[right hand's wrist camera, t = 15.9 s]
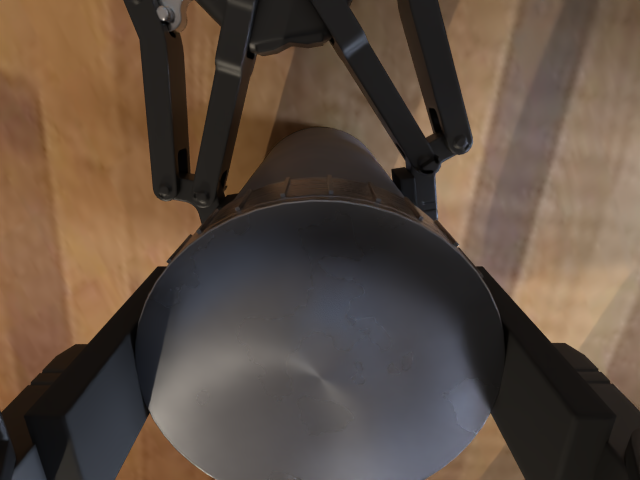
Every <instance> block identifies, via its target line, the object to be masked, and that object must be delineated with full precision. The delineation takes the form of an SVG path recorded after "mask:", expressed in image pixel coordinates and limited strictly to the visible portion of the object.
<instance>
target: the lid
mask: <svg viewBox="0 0 640 480" xmlns="http://www.w3.org/2000/svg"><path fill="white" fill-rule="evenodd" d="M458 245H459V244H458V243H457V242H456V241H455V239H454V238H453V237H452V236H451V235H450V234H449V233H448V231H447V230H446V229H445V228H444V227H443V226H442V225H441V223H440V222H439V221H438V220H437V219H436V220H435V221H433V220H432V219H431V218H430V217H429V216H428V215H426V214H425V213H424V212H423V211H422V210H420V209H419V208H418V207H416V206H415V205H414V204H413V203H412V202H411V201H410V199H409V198H407V197H405V198H402V197H400V196H398V195H396V194H394V193H391V192H389V191H387V190H385V189H383V188H380V187H377V186H374V185H373V183H372V182H370V181H368V184H367V183H363V182H360V181H355V180H348V179H342V178H332V175H327V177H309V178H298V179H290V177H287V178H286V180H285V181H282V182H277V183H273V184H269V185H266V186H264V187H261V188H258V189H256V190H253V191H252V190H251V189H248V190H247V191H246V193H245V194H244V195H243V196H241V197H239V198H237V199H235V200H233V201H232V202H230V203H228V204H227V205H226V206H224V207H223V208H222V209H220V210H218V209H217V208H216V209H215V210H214V211H213V212H212V213H211V215H210V216H209V217H208V218H207V219H206V220H205V222H204V223H203V224H202V225H201V226H200V227H199V229H198V230H197V231H196V232H195V234H194V235H191V234H190V235H189V236H188V237H187V239H186V240H185V241H184V242H183V243H182V244H181V245H180V246H179V248H178V249H177V250H176V251H175V252H174V253H173V254H172V256H171V257H170V258H169V259H168V260H167V263H169V264H168V266H167V267H166V268H165V270H164V271H163V272H162V274H161V275H160V276H159V278H158V279H157V280H156V282H155V284H154V286H153V288H152V290H151V291H150V292H149V294H148V297H147V299H146V301H145V304H144V307H143V310H142V313H141V316H140V319H139V322H138V328H137V334H136V340H135V364H136V369H137V375H138V380H139V385H140V390H141V393H142V396H143V399H144V402H145V404H146V406H147V408H148V410H149V412H150V414H151V416H152V418H153V420H154V421H155V423H156V424H157V426H158V427H159V429H160V430H161V432H162V433H163V435H164V436H165V437H166V438H167V439H168V441H169V442H170V443H171V444H172V445H173V446H174V447H175V449H176V450H177V451H178V452H179V453H181V454H182V455H183V456H184V457H185V458H186V459H187V460H188V461H190V462H191V463H192V464H193V465H195V466H196V467H198V468H199V469H200V470H202V471H203V472H205V473H206V474H207V475H209V476H211V477H213V478H214V479H216V480H424V479H426V478H428V477H429V476H431V475H432V474H434V473H436V472H437V471H439V470H440V469H442V468H443V467H444V466H445V465H447V464H448V463H449V462H450V461H452V460H453V459H454V458H455V457H457V456H458V455H459V454H460V453H461V452H462V451H463V450H464V449H465V448H466V447H467V446H468V445H469V444H470V442H471V441H472V440H473V439H474V437H475V436H476V435H477V433H478V432H479V431H480V429H481V428H482V427H483V425H484V423H485V422H486V420H487V418H488V416H489V415H490V413H491V411H492V409H493V407H494V404H495V402H496V399H497V397H498V394H499V391H500V386H501V381H502V376H503V371H504V365H505V341H504V330H503V326H502V323H501V319H500V315H499V311H498V308H497V306H496V304H495V301H494V299H493V297H492V295H491V292H490V290H489V289H488V287H487V285H486V284H485V282H484V281H483V279H482V278H483V275H482V274H481V272H480V271H479V270H478V269H477V268H476V267H475V265H474V264H473V263H472V262H471V261H470V260H469V258H468V257H467V256H466V255H465V254H464V253H463V251H462V250H461V249H460V248H459V247H458V248H457V246H458Z"/></svg>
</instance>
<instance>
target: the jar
mask: <svg viewBox="0 0 640 480" xmlns="http://www.w3.org/2000/svg"><path fill="white" fill-rule="evenodd" d="M327 175H332V178H342V179H348V180H355V181H360V182H363V183H367V184H368V181H370V182H372V183H373V185H374V186H377V187H380V188H383V189H385V190H387V191H389V192H391V193H394V194H396V195H398V196H400V197H402V198H405V197H404V196H403V194H402V193H401V192H400V190H399V189H398V188H397V187H396V185H395V184H394V183H393V181H392V180H391V179H390V177H389V176H388V175H387V173H386V172H385V171H384V169H383V168H382V167H381V166H380V164H379V163H378V162H377V160H376V159H375V158H374V156H373V155H372V154H371V152H370V151H369V150H368V149H367V148H366V147H365V145H363V144H362V143H361V142H360V141H359V140H358V139H356V138H355V137H353V136H352V135H350V134H348V133H345V132H343V131H340V130H337V129H333V128H327V127H314V128H307V129H303V130H300V131H297V132H295V133H292V134H291V135H289V136H287V137H285V138H284V139H283V140H281V141H280V142H279V143H278V144H277V145H276V146H275V147H274V148H273V149H272V150H271V152H270V153H269V154H268V155H267V157H266V158H265V159H264V161H263V162H262V163H261V165H260V166H259V167H258V169H257V170H256V171H255V173H254V174H253V175H252V177H251V178H250V179H249V180H248V182H247V183H246V184H245V186H244V187H243V188H242V190H241V191H240V192H239V194H238V195H237V196H236V198H235V199H237V198H239V197H241V196H243V195H244V194H245V193H246V191H247V190H248V189H251V190H252V191H253V190H256V189H258V188H261V187H264V186H266V185H269V184H273V183H277V182H282V181H285V180H286V178H287V177H290V179H298V178H309V177H327ZM235 199H234V200H235Z"/></svg>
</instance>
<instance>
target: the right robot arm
mask: <svg viewBox="0 0 640 480" xmlns="http://www.w3.org/2000/svg"><path fill="white" fill-rule="evenodd" d="M165 268H166V267H157V268H156V269H155V270H154V271H153V272H152V273H151V275H150V276H149V277H148V278H147V279H146V280H145V281H144V282H143V283H142V285H141V286H140V287H139V288H138V289H137V290H136V291H135V292H134V293H133V295H132V296H131V297H130V298H129V299H128V300H127V301H126V302H125V303H124V305H123V306H122V307H121V308H120V309H119V310H118V311H117V312H116V313H115V315H114V316H113V317H112V318H111V319H110V320H109V321H108V322H107V323H106V325H105V326H104V327H103V328H102V329H101V330H100V331H99V332H98V333H97V335H96V336H95V337H94V338H93V339H92V340H91V341H90V342H89V343H88V344H75V345H74V346H72V347H71V348H69V349H67V350H66V351H64V352H62V353H61V354H59V355H58V356H56V357H55V358H54V359H53V360H52V361H51V362H50V363H49V364H48V365H47V366H46V367H45V368H44V369H43V370H42V371H43V372H42V373H39V374H38V376H37V377H36V378H35V379H34V380H33V381H32V382H31V385H28V386H27V387H26V388H25V389H24V390H23V391H22V392H21V393H20V394H19V395H18V396H17V397H16V398H15V399H14V400H13V401H12V402H11V403H10V404H9V405H8V406H7V407H6V408H5V409H4V410H3V411H2V412H1V411H0V480H115V478H116V476H117V474H118V473H119V471H120V469H121V467H122V465H123V463H124V461H125V459H126V457H127V455H128V453H129V451H130V450H131V448H132V446H133V444H134V442H135V440H136V438H137V436H138V434H139V432H140V430H141V428H142V427H143V425H144V423H145V421H146V419H147V417H148V415H149V413H150V412H149V410H148V408H147V406H146V404H145V402H144V399H143V396H142V393H141V390H140V385H139V380H138V375H137V369H136V364H135V340H136V334H137V328H138V322H139V319H140V316H141V313H142V310H143V307H144V304H145V301H146V299H147V297H148V294H149V292H150V291H151V290H152V288H153V286H154V284H155V282H156V280H157V279H158V278H159V276H160V275H161V274H162V272H163V271H164V270H165ZM476 268H477V269H478V270H479V271H480V272H481V274H482V275H483V278H482V279H483V281H484V282H485V284H486V285H487V287H488V289H489V290H490V292H491V295H492V297H493V299H494V301H495V304H496V306H497V308H498V311H499V315H500V319H501V323H502V326H503V330H504V341H505V365H504V371H503V376H502V381H501V386H500V391H499V394H498V397H497V399H496V402H495V404H494V407H493V409H492V411H491V414H492V416H493V418H494V420H495V422H496V424H497V426H498V428H499V430H500V432H501V434H502V436H503V438H504V439H505V441H506V443H507V445H508V447H509V449H510V451H511V453H512V455H513V457H514V459H515V461H516V462H517V464H518V466H519V468H520V470H521V472H522V474H523V476H524V478H525V480H640V411H639V410H638V409H637V408H636V407H635V406H634V405H633V404H632V403H631V402H630V401H629V400H628V399H627V398H626V397H625V396H624V395H623V394H622V393H621V392H620V391H619V390H618V389H617V388H616V387H615V386H614V385H613V384H610V381H609V379H608V378H607V377H606V376H605V375H604V374H603V373H602V372H599V371H598V368H597V367H596V366H595V365H594V364H593V363H592V362H591V361H590V360H589V359H588V358H587V357H586V356H585V355H584V354H582V353H580V352H579V351H577V350H575V349H574V348H572V347H571V346H569V345H567V344H566V343H551V342H550V341H549V340H548V339H547V338H546V336H545V335H544V334H543V333H542V332H541V331H540V330H539V329H538V328H537V326H536V325H535V324H534V323H533V322H532V321H531V320H530V319H529V318H528V316H527V315H526V314H525V313H524V312H523V311H522V310H521V309H520V308H519V306H518V305H517V304H516V303H515V302H514V301H513V300H512V299H511V298H510V296H509V295H508V294H507V293H506V292H505V291H504V290H503V289H502V288H501V286H500V285H499V284H498V283H497V282H496V281H495V280H494V279H493V278H492V276H491V275H490V274H489V273H488V272H487V271H486V270H485V269H484V268H483V267H476Z"/></svg>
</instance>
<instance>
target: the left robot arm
mask: <svg viewBox="0 0 640 480" xmlns="http://www.w3.org/2000/svg"><path fill="white" fill-rule="evenodd" d="M191 1H193V0H124V3H125V5H126V8H127V10H128V13H129V15H130V17H131V20H132V22H133V25H134V27H135V30H136V32H137V34H138V37H139V39H140V50H141V61H142V72H143V83H144V94H145V105H146V116H147V127H148V138H149V149H150V160H151V171H152V182H153V190H154V194H155V195H156V196H157V198H159V199H160V200H163V201H171V200H172V199H173V200H178V201H184V202H188V203H190V204H192V205H193V206H194V207H195V208H196V209H197V210H198V213H199V216H200V219H201V223H202V224H203V223H204V222H205V220H206V219H207V218H208V217H209V216H210V215H211V213H212V212H213V211H214V210H215V209H216V208H217V209H218V210H220V209H222V208H223V207H224V206H226V205H227V204H228V203H230V202H232V201H233V200H234V199H235V198H236V196H237V195H238V194H239V193H238V194H232V195H227V196H226V197H225V195H224V191H225V190H226V188H227V186H225V185H226V181H227V176H228V172H229V167H230V163H231V159H232V154H233V150H234V145H235V141H236V137H237V132H238V128H239V123H240V119H241V115H242V110H243V106H244V101H245V97H246V92H247V88H248V84H249V79H250V76H251V74H252V72H253V68H254V64H255V60H256V55H257V54H259V55H261V56H266V55H272V54H277V53H279V52H281V51H283V50H286V49H288V48H290V47H292V46H294V47H303V48H312V47H317V46H323V44H324V43H326V42H327V41H330V43H331V45H332V46H333V48H334V49H335V51H336V53H337V54H338V56H339V57H340V58H341V60H342V61H343V62H344V64H345V66H346V67H347V69H348V70H349V72H350V74H351V75H352V77H353V78H354V80H355V82H356V83H357V85H358V86H359V88H360V89H361V91H362V93H363V94H364V96H365V97H366V99H367V101H368V102H369V104H370V105H371V107H372V109H373V110H374V112H375V113H376V115H377V117H378V118H379V120H380V121H381V123H382V125H383V126H384V128H385V129H386V131H387V132H388V134H389V136H390V137H391V139H392V140H393V142H394V144H395V145H396V147H397V148H398V150H399V152H400V153H401V155H402V156H403V158H404V160H405V161H406V168H405V167H403V168H396V169H391V170H392V180H393V183H394V184H395V185H396V187H397V188H398V189H399V190H400V192H401V193H402V194H403V196H404V197H407V198H409V199H410V201H411V202H412V203H413V204H414V205H415V206H416V207H418V208H419V209H420V210H422V211H423V212H424V213H425V214H426V215H428V216H429V217H430V218H431V219H432V220H433V221H435V220H436V219H437V220H438V212H437V195H436V179H435V175H436V173H437V172H438V171H439V169H440V167H441V163H442V162H444V161H445V160H447V159H449V158H451V157H453V156H455V155H461V154H464V153H466V152H468V151H469V150H470V148H471V147H472V144H473V137H472V133H471V129H470V125H469V121H468V118H467V114H466V110H465V106H464V102H463V98H462V94H461V90H460V86H459V82H458V78H457V74H456V70H455V66H454V62H453V58H452V54H451V50H450V46H449V42H448V39H447V35H446V31H445V27H444V23H443V19H442V15H441V11H440V7H439V3H438V0H397V1H398V9H399V13H400V18H401V21H402V25H403V28H404V32H405V35H406V39H407V42H408V46H409V49H410V53H411V56H412V60H413V63H414V67H415V70H416V74H417V77H418V81H419V84H420V88H421V91H422V95H423V98H424V102H425V105H426V109H427V112H428V116H429V119H430V123H431V126H432V130H433V133H434V134H432V135H430V136H428V137H426V138H425V136H424V135H423V133H422V131H421V130H420V128H419V126H418V125H417V123H416V121H415V120H414V118H413V116H412V115H411V113H410V111H409V109H408V108H407V106H406V104H405V103H404V101H403V99H402V98H401V96H400V94H399V93H398V91H397V89H396V88H395V86H394V84H393V83H392V81H391V79H390V78H389V76H388V74H387V73H386V71H385V69H384V68H383V66H382V64H381V63H380V61H379V59H378V58H377V56H376V54H375V53H374V51H373V49H372V48H371V46H370V44H369V42H368V40H367V38H366V35H365V33H364V31H363V29H362V28H361V26H360V24H359V23H358V21H357V19H356V18H355V16H354V14H353V13H352V11H351V9H350V8H349V6H350V4H351V2H352V0H195V1H196V2H197V3H198V4H199V5H200V6H201V7H202V8H203V9H204V10H205V11H206V12H207V13H208V14H209V15H210V16H211V17H212V18H213V19H214V20H215V21H216V22H217V23H218V24H219V25H220V26H221V31H220V36H219V41H218V46H217V51H216V57H215V65H216V70H215V75H214V80H213V86H212V91H211V96H210V101H209V106H208V111H207V116H206V121H205V126H204V131H203V136H202V141H201V146H200V151H199V156H198V161H197V166H196V171H195V174H191V172H190V154H189V137H188V119H187V101H186V83H185V65H184V52H183V45H182V40H181V36H180V33H179V32H181V31H183V30H184V29H185V27H186V25H187V14H186V11H187V7H188V5H189V3H190V2H191Z"/></svg>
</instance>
